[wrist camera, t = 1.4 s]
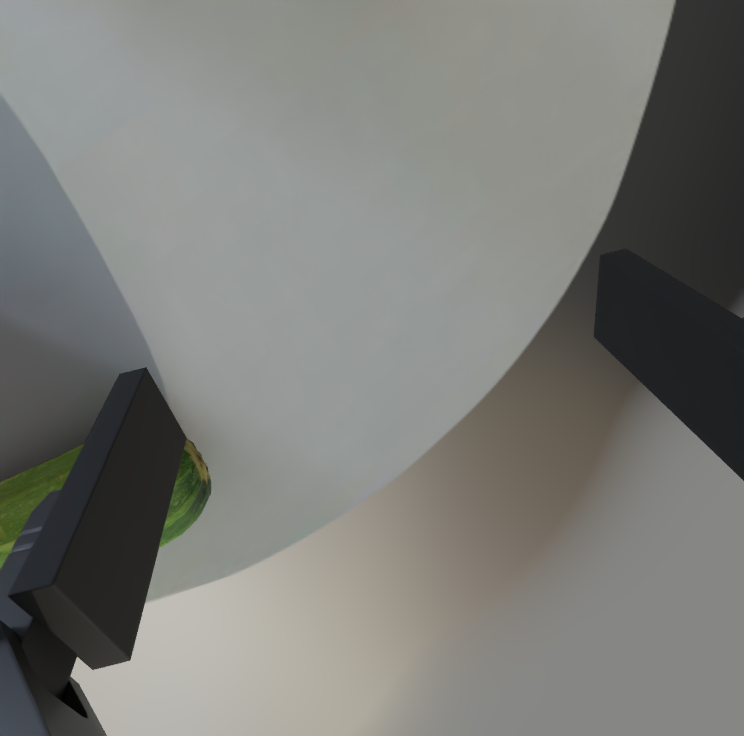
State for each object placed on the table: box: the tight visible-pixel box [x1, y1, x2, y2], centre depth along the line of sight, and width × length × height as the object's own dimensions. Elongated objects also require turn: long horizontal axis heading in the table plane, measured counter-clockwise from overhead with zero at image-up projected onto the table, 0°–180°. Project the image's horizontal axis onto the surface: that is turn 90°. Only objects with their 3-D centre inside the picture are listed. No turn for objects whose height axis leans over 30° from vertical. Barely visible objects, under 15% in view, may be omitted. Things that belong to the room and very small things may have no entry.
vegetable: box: [0, 439, 211, 569], centre depth 28 cm, size 7×7×20 cm
